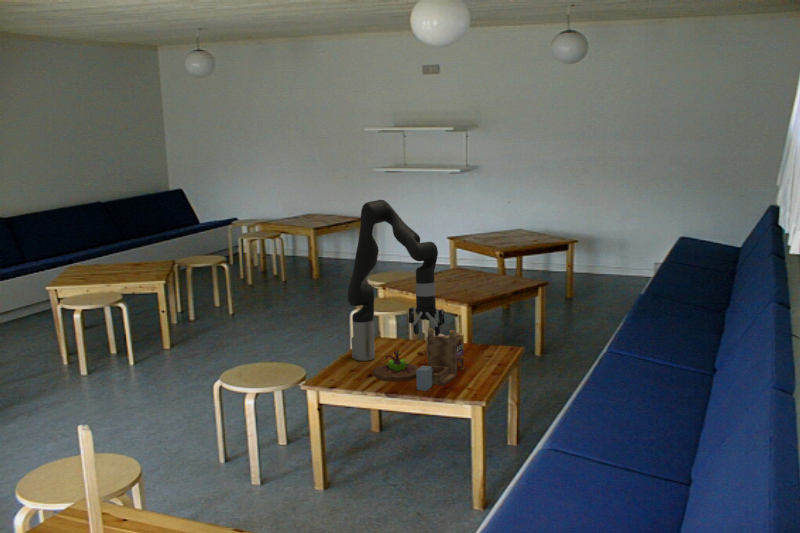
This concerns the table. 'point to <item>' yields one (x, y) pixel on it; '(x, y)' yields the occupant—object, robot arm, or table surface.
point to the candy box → (459, 350)
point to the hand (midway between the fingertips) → (426, 334)
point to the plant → (395, 370)
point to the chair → (442, 357)
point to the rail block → (424, 378)
